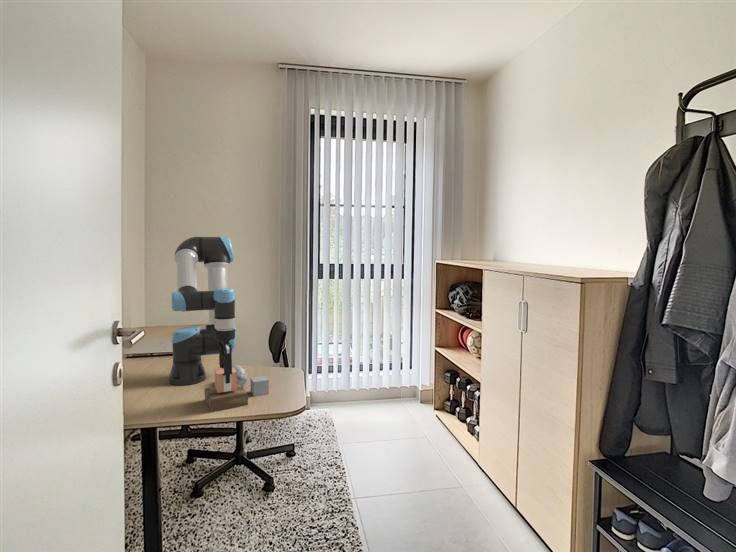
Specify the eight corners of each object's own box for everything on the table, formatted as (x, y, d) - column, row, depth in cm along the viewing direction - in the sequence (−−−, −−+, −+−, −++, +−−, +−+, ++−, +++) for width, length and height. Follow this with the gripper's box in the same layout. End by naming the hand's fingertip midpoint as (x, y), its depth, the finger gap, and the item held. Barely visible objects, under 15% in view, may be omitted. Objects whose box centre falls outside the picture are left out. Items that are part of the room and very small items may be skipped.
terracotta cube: (215, 387, 166) (214, 369, 165) (233, 384, 169) (233, 367, 168) (217, 392, 159) (217, 374, 159) (236, 390, 163) (236, 372, 162)
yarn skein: (216, 374, 188) (228, 355, 187) (236, 380, 193) (247, 361, 192) (221, 391, 176) (234, 371, 176) (242, 397, 181) (254, 377, 181)
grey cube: (250, 391, 177) (250, 377, 176) (265, 389, 179) (264, 375, 179) (253, 396, 171) (253, 382, 171) (268, 394, 174) (268, 379, 174)
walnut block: (204, 401, 167) (204, 388, 166) (238, 395, 174) (238, 383, 173) (212, 413, 156) (212, 399, 155) (247, 405, 163) (247, 393, 162)
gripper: (210, 324, 169) (212, 381, 171) (218, 335, 151) (219, 398, 154) (230, 323, 173) (231, 378, 175) (240, 333, 155) (240, 394, 157)
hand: (225, 387), depth 164 cm, fingers closed on terracotta cube, 7 cm apart
